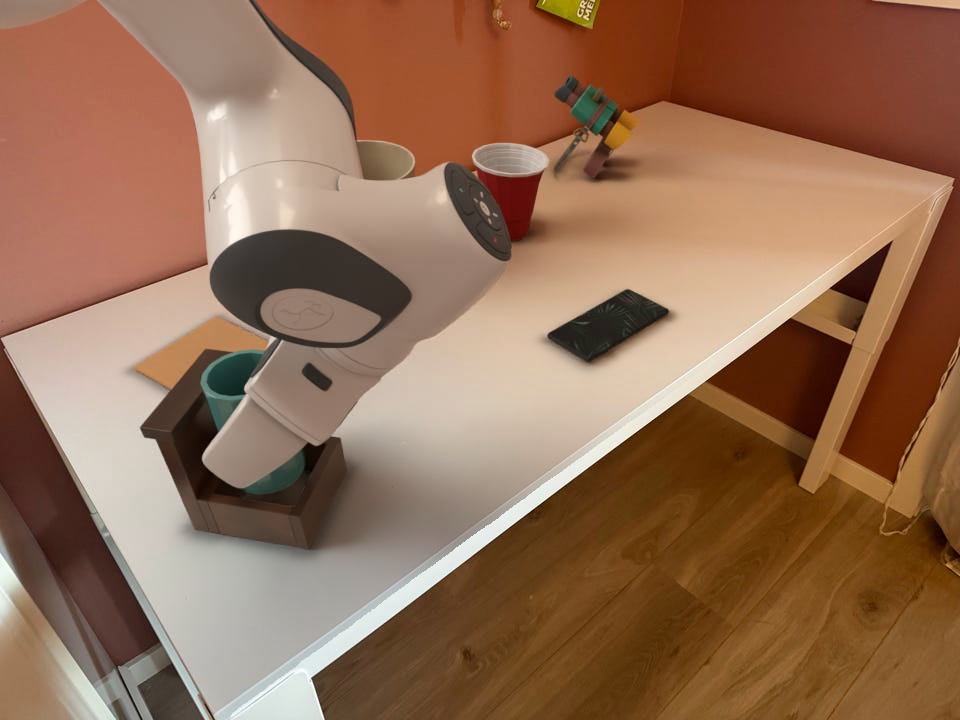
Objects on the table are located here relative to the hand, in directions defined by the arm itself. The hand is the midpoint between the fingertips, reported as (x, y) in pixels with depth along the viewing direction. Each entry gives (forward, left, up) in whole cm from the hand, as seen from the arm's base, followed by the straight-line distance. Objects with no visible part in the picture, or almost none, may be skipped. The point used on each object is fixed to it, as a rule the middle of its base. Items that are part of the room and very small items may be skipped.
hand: (247, 414), depth 61 cm
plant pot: (+35, +19, -11) cm, 42 cm away
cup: (0, -1, -6) cm, 6 cm away
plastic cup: (+55, +9, -11) cm, 57 cm away
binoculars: (+81, +9, -11) cm, 83 cm away
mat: (+10, +22, -11) cm, 27 cm away
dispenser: (0, 0, -11) cm, 11 cm away
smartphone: (+42, -14, -11) cm, 45 cm away
